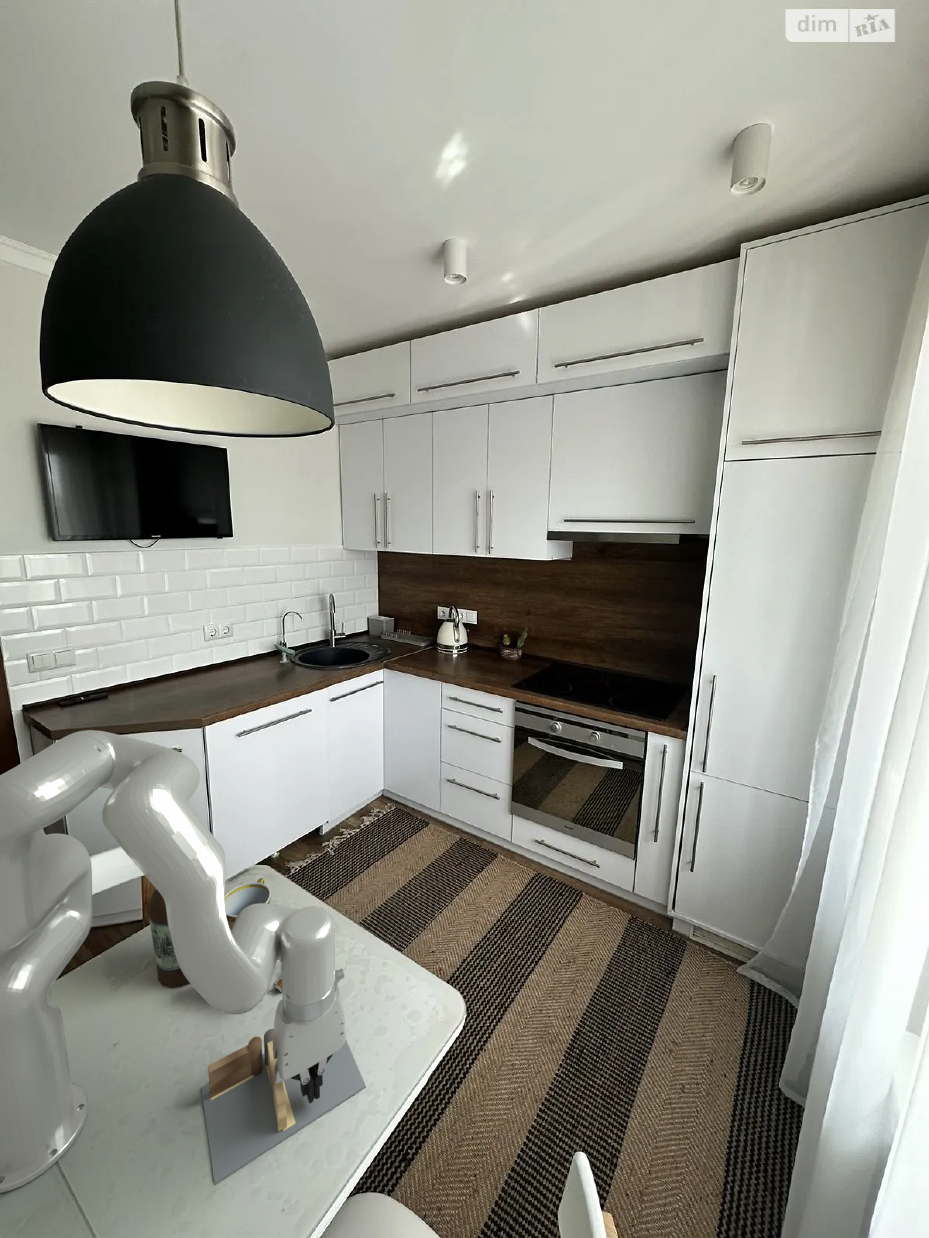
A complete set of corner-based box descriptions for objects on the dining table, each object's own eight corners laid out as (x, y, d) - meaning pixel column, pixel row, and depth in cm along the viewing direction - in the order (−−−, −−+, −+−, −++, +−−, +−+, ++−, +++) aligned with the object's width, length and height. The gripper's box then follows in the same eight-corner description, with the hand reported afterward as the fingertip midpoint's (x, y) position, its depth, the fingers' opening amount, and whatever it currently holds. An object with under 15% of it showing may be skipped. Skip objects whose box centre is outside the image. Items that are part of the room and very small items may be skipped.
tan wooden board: (263, 1056, 83) (263, 1031, 82) (276, 1050, 84) (275, 1026, 83) (275, 1132, 72) (274, 1105, 72) (289, 1125, 73) (288, 1098, 73)
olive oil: (178, 942, 105) (170, 837, 101) (225, 948, 104) (219, 842, 100) (141, 987, 95) (130, 872, 90) (192, 994, 94) (184, 878, 89)
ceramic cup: (259, 960, 102) (257, 918, 100) (212, 956, 102) (209, 914, 100) (285, 912, 114) (284, 874, 113) (243, 909, 115) (242, 871, 113)
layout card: (215, 1184, 67) (214, 1182, 67) (201, 1088, 78) (201, 1086, 78) (365, 1087, 79) (365, 1085, 79) (335, 1016, 91) (335, 1014, 91)
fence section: (211, 1101, 76) (209, 1072, 75) (209, 1088, 78) (207, 1061, 77) (263, 1071, 81) (262, 1044, 80) (261, 1060, 82) (259, 1034, 81)
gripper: (348, 951, 80) (348, 1044, 84) (250, 997, 72) (255, 1098, 75) (366, 987, 74) (366, 1085, 78) (262, 1041, 66) (266, 1149, 69)
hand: (311, 1091), depth 76 cm, fingers closed
